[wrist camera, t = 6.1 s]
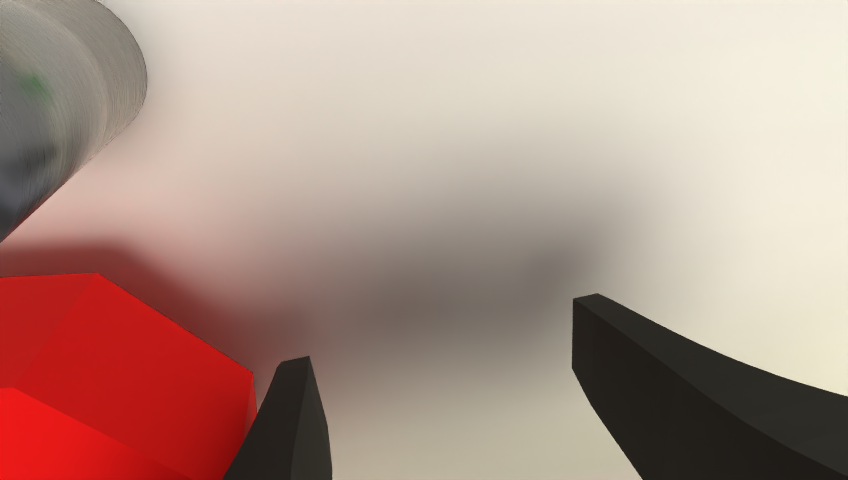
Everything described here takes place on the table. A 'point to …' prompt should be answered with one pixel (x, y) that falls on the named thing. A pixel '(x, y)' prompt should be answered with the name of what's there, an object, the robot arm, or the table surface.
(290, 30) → the table surface
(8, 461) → the red black angular block
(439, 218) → the table surface
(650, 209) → the table surface
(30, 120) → the grey round piece
